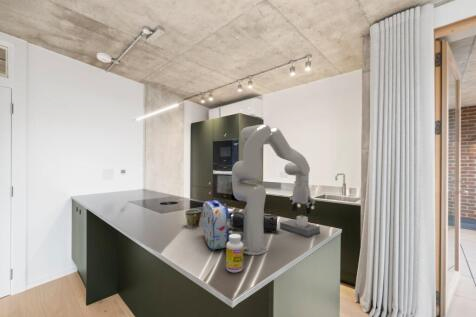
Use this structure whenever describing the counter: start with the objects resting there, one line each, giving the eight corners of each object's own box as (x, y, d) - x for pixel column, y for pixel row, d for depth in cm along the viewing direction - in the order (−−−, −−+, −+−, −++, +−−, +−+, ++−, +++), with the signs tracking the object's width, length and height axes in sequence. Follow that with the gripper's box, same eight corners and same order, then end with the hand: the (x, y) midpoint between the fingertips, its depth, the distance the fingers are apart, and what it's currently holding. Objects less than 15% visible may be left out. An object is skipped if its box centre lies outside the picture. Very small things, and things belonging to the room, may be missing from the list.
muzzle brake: (276, 234, 123) (276, 216, 124) (229, 230, 129) (229, 213, 129) (277, 229, 133) (277, 212, 133) (233, 226, 138) (233, 210, 139)
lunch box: (234, 252, 99) (234, 204, 99) (212, 255, 95) (212, 206, 96) (218, 233, 125) (218, 195, 125) (200, 235, 121) (200, 196, 121)
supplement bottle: (232, 275, 79) (232, 240, 79) (222, 267, 84) (223, 235, 85) (246, 269, 83) (246, 236, 83) (236, 263, 88) (236, 232, 89)
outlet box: (307, 237, 119) (307, 230, 119) (280, 228, 134) (280, 222, 134) (319, 233, 126) (319, 226, 126) (292, 225, 142) (292, 219, 142)
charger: (303, 231, 125) (303, 217, 125) (296, 229, 129) (296, 216, 129) (307, 230, 128) (307, 216, 128) (301, 228, 132) (301, 215, 132)
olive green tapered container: (183, 225, 140) (183, 210, 140) (198, 223, 144) (198, 208, 144) (187, 231, 128) (188, 214, 128) (204, 229, 133) (204, 213, 133)
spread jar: (227, 231, 128) (227, 212, 128) (212, 228, 134) (213, 209, 135) (238, 226, 138) (238, 208, 138) (224, 223, 144) (225, 206, 144)
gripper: (286, 182, 134) (285, 210, 133) (311, 185, 120) (310, 216, 119) (294, 182, 138) (293, 209, 137) (318, 185, 124) (317, 214, 124)
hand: (301, 212), depth 128 cm, fingers open, 9 cm apart
